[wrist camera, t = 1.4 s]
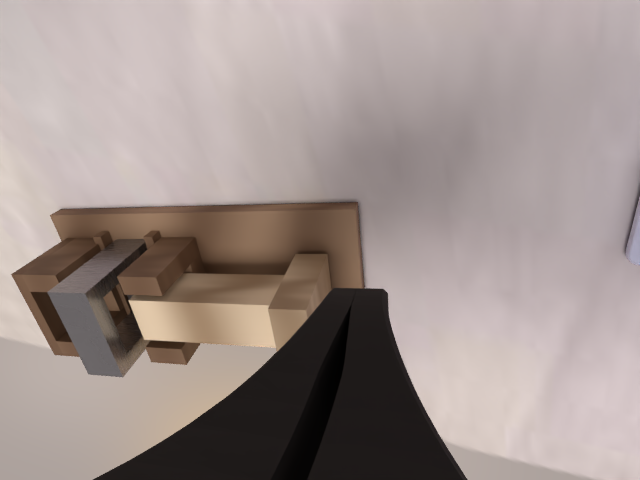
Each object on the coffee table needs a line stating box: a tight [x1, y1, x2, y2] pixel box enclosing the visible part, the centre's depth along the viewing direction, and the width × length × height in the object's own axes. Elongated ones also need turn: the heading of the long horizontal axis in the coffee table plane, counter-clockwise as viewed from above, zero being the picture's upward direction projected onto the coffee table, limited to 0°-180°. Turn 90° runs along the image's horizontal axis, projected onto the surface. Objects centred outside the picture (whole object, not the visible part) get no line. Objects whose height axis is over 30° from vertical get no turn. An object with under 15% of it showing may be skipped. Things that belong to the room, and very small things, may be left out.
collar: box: [47, 239, 151, 377], centre depth 22 cm, size 2×5×5 cm, turn 7°
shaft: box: [128, 254, 332, 351], centre depth 20 cm, size 9×4×4 cm, turn 97°
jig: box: [11, 202, 364, 365], centre depth 22 cm, size 17×8×5 cm, turn 97°
